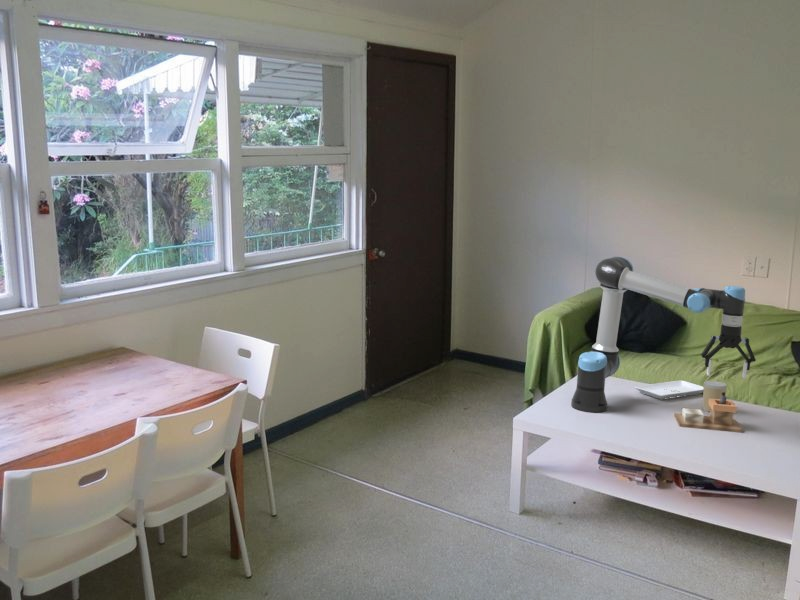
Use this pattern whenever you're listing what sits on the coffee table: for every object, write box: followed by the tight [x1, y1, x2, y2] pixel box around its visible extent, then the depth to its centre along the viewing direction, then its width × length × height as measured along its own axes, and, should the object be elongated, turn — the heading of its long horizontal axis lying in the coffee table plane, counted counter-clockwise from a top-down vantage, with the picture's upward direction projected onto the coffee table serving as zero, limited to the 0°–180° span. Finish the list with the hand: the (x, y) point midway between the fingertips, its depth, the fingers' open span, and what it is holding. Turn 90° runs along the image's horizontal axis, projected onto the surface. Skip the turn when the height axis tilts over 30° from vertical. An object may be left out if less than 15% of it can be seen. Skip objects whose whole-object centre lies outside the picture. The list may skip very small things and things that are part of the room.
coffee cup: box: [702, 380, 727, 413], centre depth 319 cm, size 9×9×12 cm
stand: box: [673, 395, 744, 433], centre depth 300 cm, size 24×14×12 cm, turn 78°
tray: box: [634, 379, 704, 400], centre depth 343 cm, size 17×31×4 cm, turn 117°
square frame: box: [708, 398, 738, 414], centre depth 299 cm, size 9×9×2 cm
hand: (725, 376), depth 297 cm, fingers open, 13 cm apart
